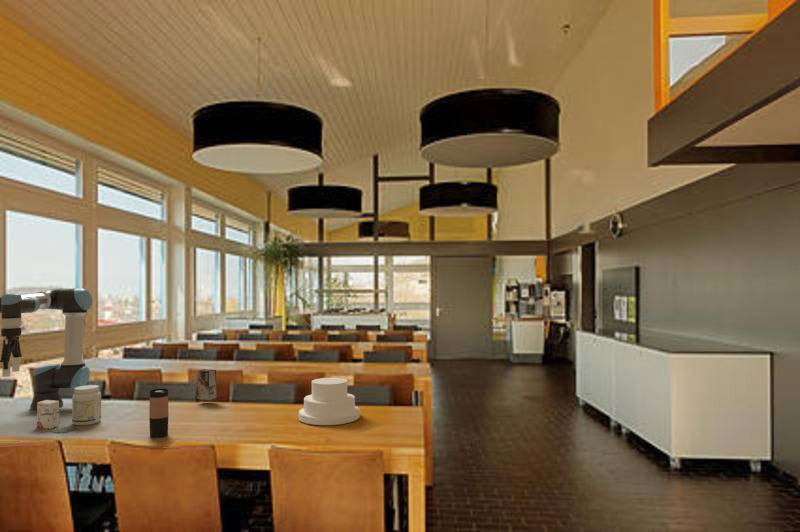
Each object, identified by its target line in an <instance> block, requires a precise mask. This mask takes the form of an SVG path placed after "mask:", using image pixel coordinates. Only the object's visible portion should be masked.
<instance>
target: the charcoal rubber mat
mask: <svg viewBox="0 0 800 532" xmlns="http://www.w3.org/2000/svg"><path fill="white" fill-rule="evenodd" d="M75 430H78V427H73V426H63V427H60V428H57V429H53V430H51V431H49V433H50V432H54V433H53V434H61V433H62V434H65V433H69V432H73V431H75ZM62 434H61V435H62Z"/></svg>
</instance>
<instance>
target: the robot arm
mask: <svg viewBox="0 0 800 532" xmlns="http://www.w3.org/2000/svg"><path fill="white" fill-rule="evenodd" d="M92 305H93V297H92V294H91V292H90V291H89V290H87V289H86V288H79V287H77V288H54V289H48V290H42V291H38V292H36V293H31V294H30V293H29V294H21V293H3V294H2V295H1V296H0V314H1V320H0V324H1V330H0V331H1V332H0V334H1V337H3V338H5V339H3V343H2V350H1V355H0V363H2V374H1V376H2V378H3V377H4V378H6V377H11V370H12V373H13V372H20V362H21V361H20V358H22V357H23V354H22V351H21V345H20V337H21V336H22V314H28V313H30V314H31V313H32V314H33V313H35V312H36V311H38V310H54V311H55V310H58V311H59V310H61V311H62V314H63V315H64V316H65V320H64V321H65V323H64V324H65V326H64V346H63V347H64V349H63V361H62V362H61V363H53V364H47V365H40V366H38V367H36V368H35V369H34V371H33V372H34V374H33V391H34V392H33V398H32V400H31V403H30V406H29V410H30V411H33V410H37V402H41V401H44V400H54V401H59V409H60V408H63V407H64V401H63V398H62V395H61V393H60V392H61V391H60V389H61V390H62V389H64V390H65V389H73V390H74V388H76V387H80V386H86V385H87V383H88V382H89V379H90V375H91V370H90V368H89V367H88V366H86V362H85V361H84V360H83V347H84V344H83V343H84V317H85V315H87V313H88V311H89V310H90V309H91V308H92ZM11 355H12V359H11ZM10 359H11V360H12V361H10ZM11 362H12V363H11ZM11 364H12V365H11ZM11 366H12V367H11Z"/></svg>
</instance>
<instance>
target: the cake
mask: <svg viewBox="0 0 800 532" xmlns="http://www.w3.org/2000/svg"><path fill="white" fill-rule="evenodd" d="M360 417H361V409H360V408H359V407H358V406H356V396H355V395H354V394H352V393H349V392H348V380H347V379H346V378H342V377H321V378H315V379H313V380H311V393H310V394H308V395H305V396H304V398H303V408H301V409H299V410H298V419H299V421H300V422H302V423H304V424H307V425H312V426H313V425H314V426H316V425H317V426H336V425H338V426H339V425H344V424H348V423H352V422H355V421H357V420H358V419H360Z"/></svg>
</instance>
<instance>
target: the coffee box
mask: <svg viewBox="0 0 800 532" xmlns="http://www.w3.org/2000/svg"><path fill="white" fill-rule="evenodd" d="M196 386H197V387H196V393H197V394H196V396H197V400H207V401H211V400H214V399H216V398H217V369H207V368H206V369H205V368H202V369H200V370H197V371H196Z"/></svg>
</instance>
